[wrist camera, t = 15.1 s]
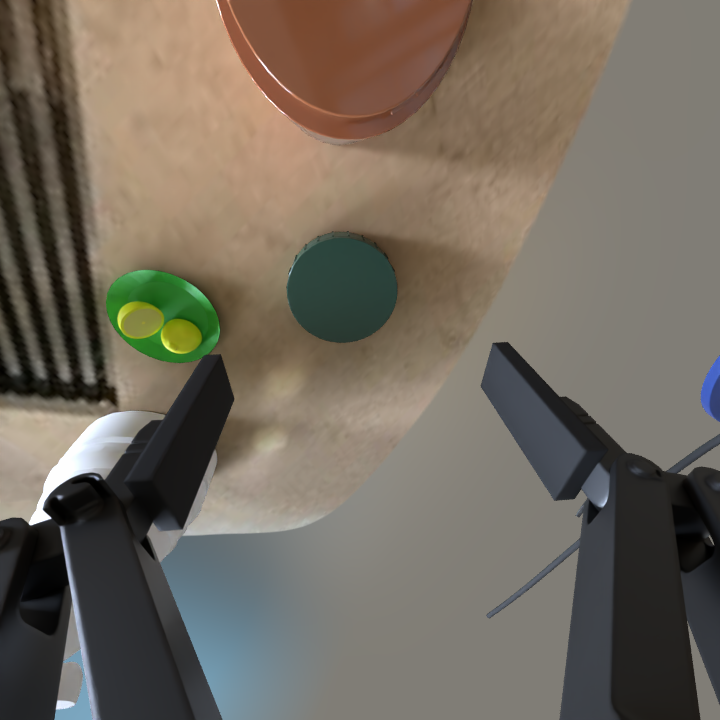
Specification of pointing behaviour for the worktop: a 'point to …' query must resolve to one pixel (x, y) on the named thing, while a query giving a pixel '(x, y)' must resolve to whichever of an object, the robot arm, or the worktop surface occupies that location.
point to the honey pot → (100, 456)
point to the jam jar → (346, 58)
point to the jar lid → (341, 287)
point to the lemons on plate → (162, 316)
